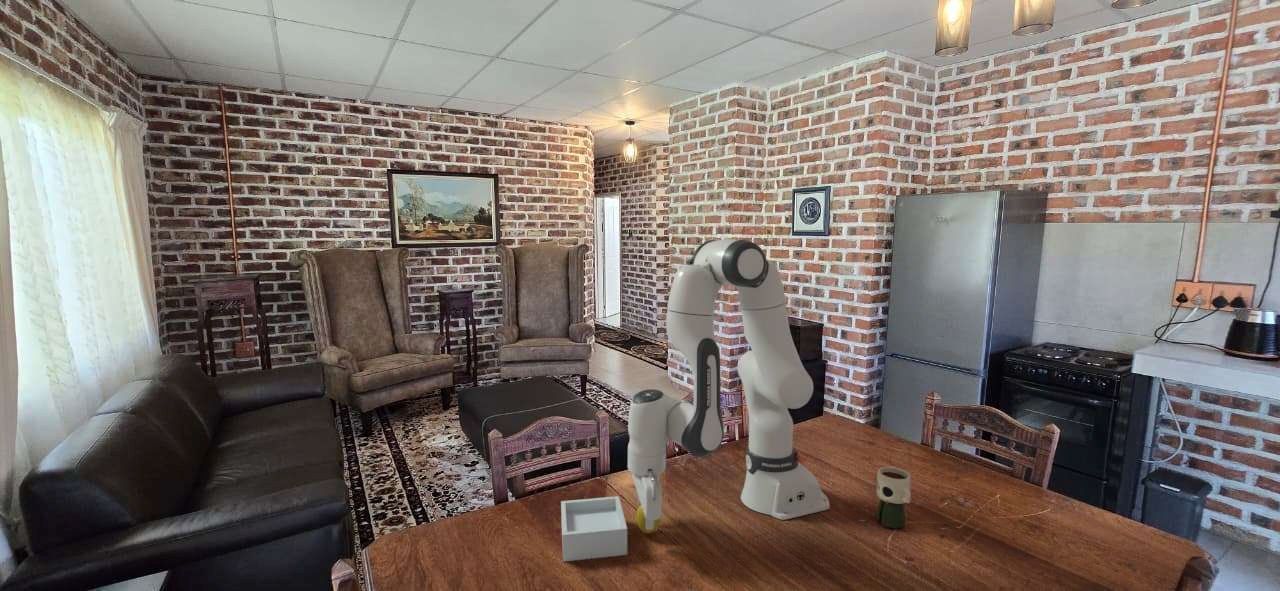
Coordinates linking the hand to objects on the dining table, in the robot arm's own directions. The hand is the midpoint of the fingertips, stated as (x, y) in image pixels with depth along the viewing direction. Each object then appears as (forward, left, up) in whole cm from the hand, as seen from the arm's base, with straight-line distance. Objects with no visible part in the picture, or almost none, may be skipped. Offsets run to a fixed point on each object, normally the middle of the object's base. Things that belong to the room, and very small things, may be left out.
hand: (645, 516), depth 122 cm
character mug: (-60, +6, -4) cm, 60 cm away
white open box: (+12, 0, -5) cm, 13 cm away
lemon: (-1, 0, -4) cm, 4 cm away
